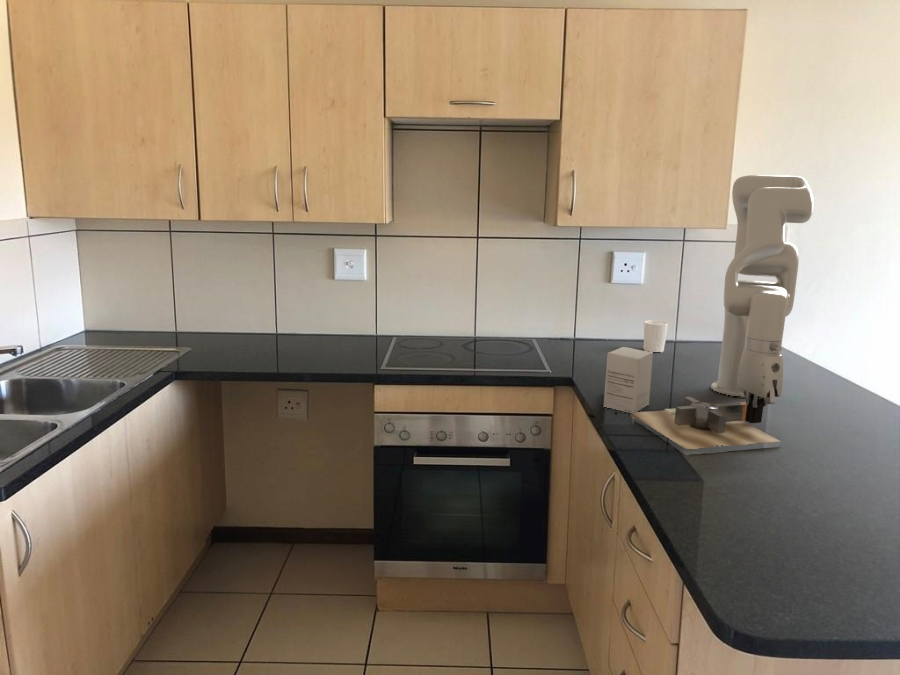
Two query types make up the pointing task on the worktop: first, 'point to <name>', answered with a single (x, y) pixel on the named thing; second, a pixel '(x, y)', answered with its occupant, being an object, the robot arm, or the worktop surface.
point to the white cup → (655, 335)
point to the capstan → (709, 414)
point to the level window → (670, 411)
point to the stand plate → (702, 432)
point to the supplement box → (628, 379)
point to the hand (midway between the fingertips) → (753, 421)
